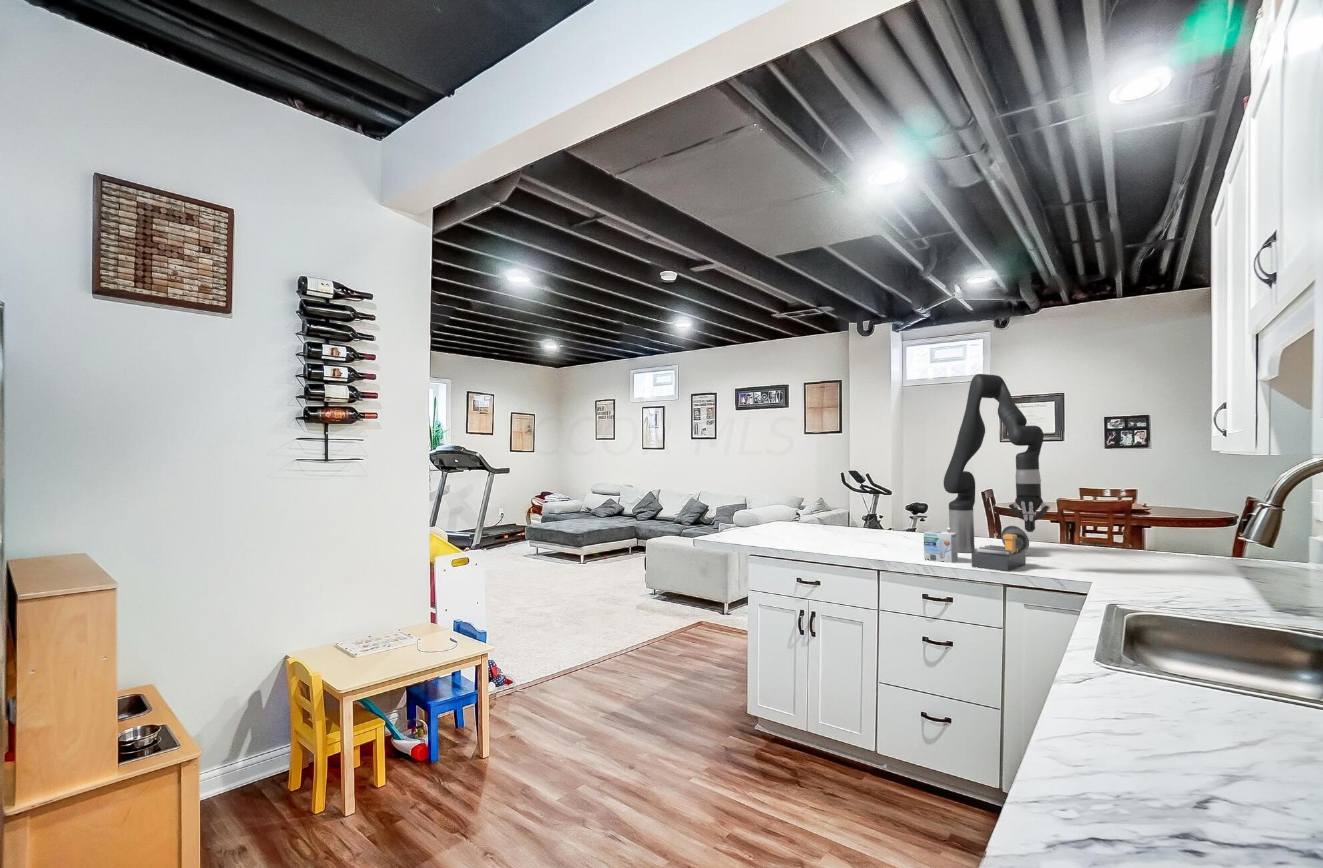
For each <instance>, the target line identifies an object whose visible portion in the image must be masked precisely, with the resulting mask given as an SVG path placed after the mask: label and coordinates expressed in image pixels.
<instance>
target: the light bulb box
mask: <svg viewBox="0 0 1323 868" xmlns="http://www.w3.org/2000/svg"><path fill="white" fill-rule="evenodd" d="M958 555H959V552H957V533H955V532H947V531H938V530H926V531H924V532H923V560H924V559H929V560H928V561H932V560H934V561H935V562H941V561H944V562H943V563H949V562H950V563H949V564H952V562H953V563H954V561H955V562H957V561H959V558H958V557H959V556H958ZM934 561H933V562H934Z"/></svg>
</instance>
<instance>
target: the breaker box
mask: <svg viewBox="0 0 1323 868" xmlns="http://www.w3.org/2000/svg"><path fill="white" fill-rule="evenodd" d="M995 546H996V545H994V546H990V545H984V547H983V546H979V547H978V549H987V550H996V551H1006V552H1009V553H1010V555H1009V556H1005V555H996V554H987V553H978V552H977V551H974V552H970V553H971V567H972V568H976V567H977V568H976V569H984V570H991V571H1001V572H1010V571H1013V570H1016V569H1018V568H1021V567H1024V566H1026V564H1027V563H1026V551H1021V552H1018V549H1016V552H1015V553H1013V550H1005V546H1004V547H995Z"/></svg>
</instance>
